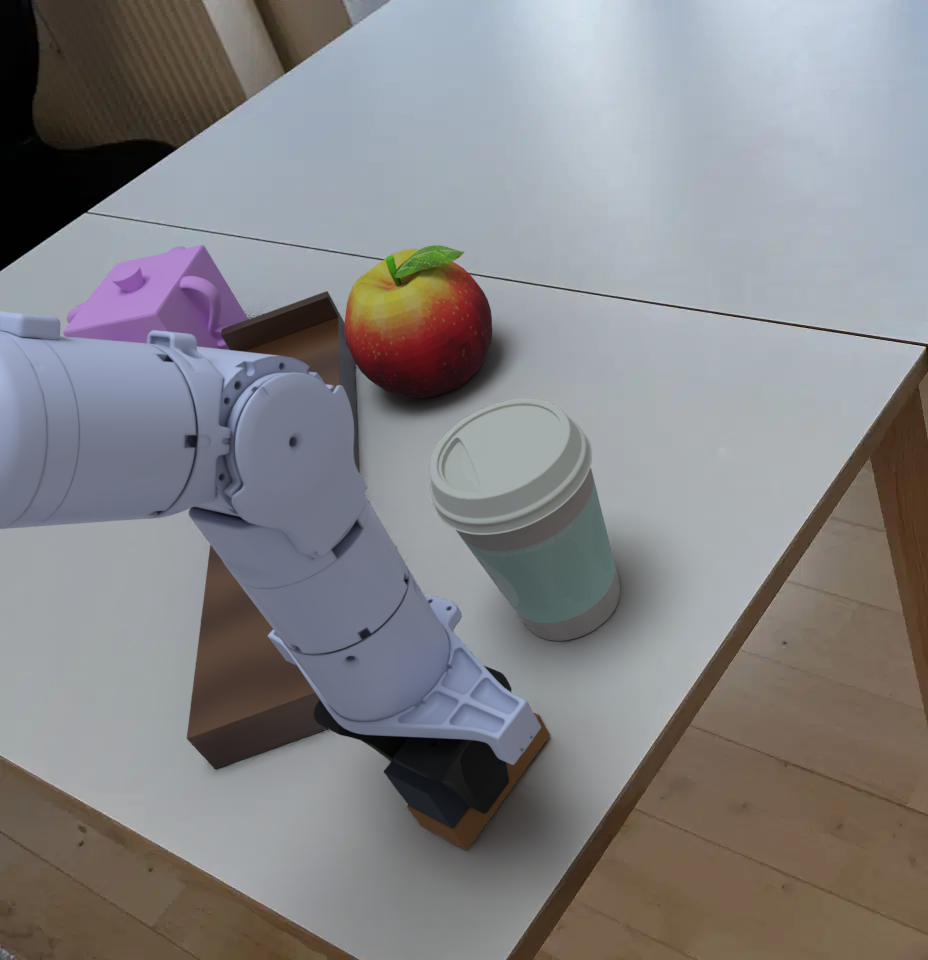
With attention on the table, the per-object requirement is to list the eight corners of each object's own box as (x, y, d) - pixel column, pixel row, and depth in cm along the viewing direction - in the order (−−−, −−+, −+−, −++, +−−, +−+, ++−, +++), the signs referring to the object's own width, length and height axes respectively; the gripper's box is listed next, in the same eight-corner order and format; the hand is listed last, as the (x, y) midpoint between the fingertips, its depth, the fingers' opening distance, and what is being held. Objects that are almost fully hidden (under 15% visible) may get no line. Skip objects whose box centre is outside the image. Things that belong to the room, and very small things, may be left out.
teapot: (214, 432, 86) (143, 328, 80) (65, 458, 90) (-16, 360, 83) (286, 302, 99) (230, 203, 93) (153, 329, 103) (90, 235, 96)
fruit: (390, 345, 89) (336, 238, 82) (517, 318, 87) (472, 207, 80) (361, 431, 81) (299, 320, 75) (500, 404, 79) (448, 288, 72)
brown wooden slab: (369, 714, 61) (328, 658, 57) (214, 769, 61) (165, 717, 57) (354, 340, 91) (327, 290, 88) (251, 377, 91) (221, 328, 88)
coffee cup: (523, 548, 67) (449, 397, 59) (656, 543, 64) (597, 384, 57) (481, 662, 61) (394, 511, 53) (627, 661, 58) (556, 502, 51)
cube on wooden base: (467, 851, 52) (428, 797, 49) (419, 826, 54) (379, 772, 51) (551, 734, 56) (520, 677, 53) (504, 714, 58) (471, 658, 55)
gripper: (535, 573, 43) (628, 766, 52) (297, 495, 51) (412, 673, 60) (421, 714, 39) (542, 896, 48) (183, 606, 47) (324, 779, 56)
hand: (464, 781), depth 54 cm, fingers closed on cube on wooden base, 3 cm apart
